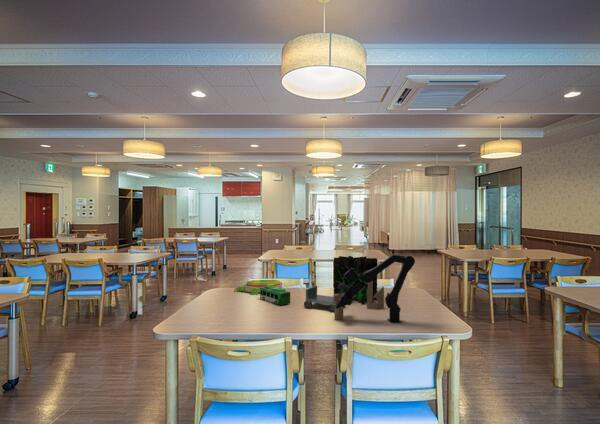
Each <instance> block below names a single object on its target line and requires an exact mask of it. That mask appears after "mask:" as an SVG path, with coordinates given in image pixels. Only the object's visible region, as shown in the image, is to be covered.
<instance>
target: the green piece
mask: <svg viewBox="0 0 600 424" xmlns="http://www.w3.org/2000/svg"><path fill="white" fill-rule="evenodd" d="M270 285H271V286H275V287H278V288H282V289H283V284H282V281H280V280H279V279H278V280H277V279H252V280H249V281H246V282H245V284H239V285H238V287H235V288H234V290H233V292H234V293H238V291H241V292H242V291H243V292H248V293H250V294H251V295H253V296H258V295H259V294H260V287H265V286H270Z"/></svg>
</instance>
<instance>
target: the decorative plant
mask: <svg viewBox="0 0 600 424" xmlns="http://www.w3.org/2000/svg"><path fill="white" fill-rule="evenodd" d="M377 265H378V258H375V257H370V258H369V257H367V256H366V255H365V256H359V257H358V256H357V257H356V256H355V257H354V256H352V255H348V256H341V255H339V256H338V257H333V296H334V295H335V294H342V293H344V292H342V290H340V289H338V286H339V284H340V282H341V283H343V284H345V285H347V286H350V285H352V284H354V283H355V282H356V281H357V280H358V279H356V281H354V282H353V283H352V282H349V281H348V280H347V279H346V278H345V277H344V276H343V275H344V274H345V273H346V272H347V271H349V270H350V269H351V268H353V269H354V271H355V272H356V273H357V274H362V273H364V272H366V271H368V270H370V269H373V268H375V267H376V266H377ZM361 281H362V280H361ZM363 281H364V280H363ZM372 281H373V296H374V295H375V294H376V293H377V292H378V275H377V276H376V277H375V278H374V279H373V280H372ZM364 282H365V281H364ZM365 283H366V284H367V282H365ZM354 301H355V302H357V303H359V304H361V305H365V303H367V289H366V288H365V287H364V288H363V289H362V290H361V291H360V292H359V293H358V295H356V296H355V297H353V299H352V302H354ZM375 301H377V302H378V298H373V302H375Z"/></svg>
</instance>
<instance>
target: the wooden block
mask: <svg viewBox="0 0 600 424" xmlns="http://www.w3.org/2000/svg"><path fill="white" fill-rule="evenodd" d="M367 284H368V289H367V302H366V309H367V310H368V309H369V310H370V309H371V310H384V309H385V287H384V286H382V287H381V288H380V289H379V290H377V293H376V294H375V295H374V296H373V281H371V282H370V283H367ZM373 298H377V302H375V301H374V302H373Z"/></svg>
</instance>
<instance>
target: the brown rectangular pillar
mask: <svg viewBox="0 0 600 424" xmlns="http://www.w3.org/2000/svg"><path fill="white" fill-rule="evenodd" d="M342 295H343V294H335V295H334V294H333V297H334V312H333V313H334V320H335V321H344V307H340V308H336V306H337V305H338V303H339V302H340V301H341V296H342Z"/></svg>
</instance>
